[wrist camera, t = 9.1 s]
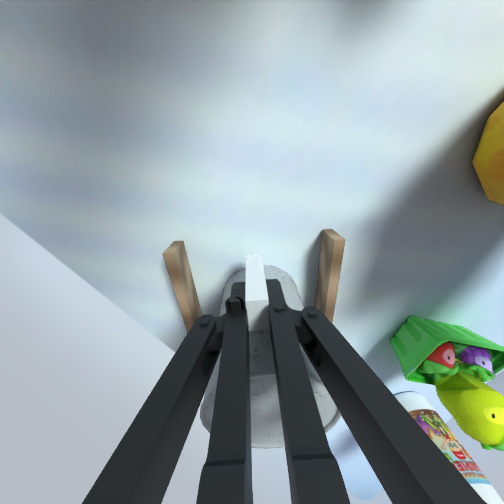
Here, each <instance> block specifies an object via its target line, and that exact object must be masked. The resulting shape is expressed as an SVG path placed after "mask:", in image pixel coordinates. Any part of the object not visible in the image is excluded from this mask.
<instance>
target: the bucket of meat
mask: <svg viewBox="0 0 504 504" xmlns="http://www.w3.org/2000/svg"><path fill="white" fill-rule="evenodd" d="M472 162H473V165H474V167H475V170H476V172H477V175H478V177H479V180H480V182H481V185H482V187H483V189H484V192H485V194H486V197H487V199H488V200H491V201H493V202H496V203H499V204H501V205H504V101H503V102H502V103H501V104H500V105H499V107H498V108H497V109H496V110H495V111H494V112H493V113H492V114H491V115H490V116H489V118H488V119H487V121H486V124H485V127H484V130H483V133H482V135H481V138H480V141H479V144H478V146H477V149H476V152H475V155H474V158H473V160H472Z"/></svg>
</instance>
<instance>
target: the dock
mask: <svg viewBox="0 0 504 504" xmlns="http://www.w3.org/2000/svg"><path fill="white" fill-rule="evenodd" d="M344 245H345V239H344V238H343V237H342V236H340V235H339V234H338V233H336V232H335V231H334V230H333V229H326V230H322V241H321V251H320V261H319V271H318V282H317V292H316V302H315V307H316V308H318V309H319V310H321V311H322V312H323V313H324V315H325V316H326V317H327V318H328V319H329V320H330V322H331V323H332V321H333V315H334V309H335V302H336V296H337V290H338V283H339V277H340V271H341V264H342V258H343V252H344ZM162 254H163V257H164V260H165V263H166V266H167V270H168V273H169V276H170V279H171V282H172V285H173V288H174V292H175V295H176V298H177V301H178V304H179V307H180V310H181V314H182V317H183V320H184V323H185V326H186V329H187V332H189V330H190V329H191V327H192V326H193V324H194V322H195V321H196V320H197V319H198V318H199V317H201V316H202V312H201V308H200V305H199V301H198V297H197V293H196V289H195V285H194V281H193V277H192V273H191V269H190V265H189V261H188V258H187V254H186V250H185V246H184V242H183V241H174V242H173V243H172V244H171V245H170V246H169V247H168V248H167V249H166V250H165V251H164V252H163V253H162Z"/></svg>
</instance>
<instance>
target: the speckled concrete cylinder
mask: <svg viewBox="0 0 504 504" xmlns="http://www.w3.org/2000/svg"><path fill="white" fill-rule="evenodd" d="M263 267H264V274H265V280H266V279H278V280H279V281H280V283H281V287H282V291H283V294H284V298H285V301H286V304H287V305H288V307H290V308H292V309H294V310H298V311H302V310H303V308H304V306H303V303H302V301H301V298H300V296H299V293H298V290H297V286H296V284H295V282H294V280H293V279H292V278H291V277H290V276H289V275H288V274H287V273H286V272H284V271H283V270H281V269H279V268H276V267H273V266H268V265H263ZM245 281H246V268H244V269H242V270H240V271H238V272H236V273H235V274H234V275H233V276H231V277H230V279H229V280H228V281H227V283H226V284H225V287H224V289H223V296H222V303H221V309H220V314H219V316H222V315H223V314H225V313H226V307H225V301H226V299H227V298H229V297H230V295H231V287H232V285H233V284H234V282H245ZM299 344H300V343H299ZM249 345H250V402H251V448H280V447H285V443H284V436H283V428H282V420H281V413H280V405H279V398H278V390H277V383H276V375H275V367H274V360H273V352H272V345H271V338H270V330H261V331H249ZM300 347H301V351H302V354H303V358H304V361H305V365H306V368H307V372H308V375H309V379H310V382H311V386H312V389H313V392H314V396H315V399H316V403H317V406H318V410H319V413H320V417H321V420H322V424H323V427H324V431H325V433H326V432H327V431H329V430H330V429H331V428H332V427H333V426H334V425H336V423H337V422H338V420H339V419H340V418H341V414H340V412H339V410H338V408H337V407H336V405H335V403H334V401H333V400H332V398H331V396H330V395H329V393H328V391H327V389H326V388H325V386H324V384H323V382H322V381H321V379H320V377H319V376H318V374H317V372H316V370H315V369H314V367H313V365H312V363H311V362H310V360H309V358H308V357H307V355H306V353H305V351H304V350H303V348H302V346H301V344H300ZM220 357H221V352H220V355H219V357H218V360H217V362H216V365H215V367H214V370H213V372H212V375H211V377H210V380H209V383H208V385H207V388H206V390H205V395H204V400H203V403H202V405H201V410H200V419H201V421H202V424H203V426H204V427H205V428H206V429H207V431H208V432H209V433H210V432H211V425H212V417H213V410H214V402H215V395H216V387H217V380H218V372H219V365H220Z"/></svg>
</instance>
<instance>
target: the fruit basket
mask: <svg viewBox="0 0 504 504" xmlns="http://www.w3.org/2000/svg"><path fill="white" fill-rule="evenodd" d="M390 342H391V344H392V346H393V349H394V351H395V353H396V355H397V357H398V360H399V362H400V364H401V366H402V368H403V369H402V370H403V373H404V376H405V378H406V380H408V381H413V382H420V383H426V384H432V385H435V386H436V392H437V395H438V397H439V399H440V401H441V402H442V404H443V405H444V406H445V408H446V409H447V410H448V411H449V412H450V413H451V414H452V416H453V417H454V419H455V420H456V422H457V423H458V425H459V427H460V428H461V429H462V430H463V431H464V432H465V433H466V434H467V435H469V436H470V437H472V438H473V439H475V440H477V441H479V442H480V443H481V446H482V447H483V448H484V449H487V450H492V448H495V449H497V450H500V451H504V397H503V396H502V395H501V394H500V393H498V392H497V391H495V390H494V389H492V388H491V387H489V386H488V385H486V384H485V383H483V382H486V381H489V380H490V379H494V377H495V374H496V373H498V372H499V371H501V370H502V369H503V368H504V347H503V346H499V345H497V344H496V343H494V342H492V341H490V340H488V339H486V338H484V337H482V336H480V335H478V334H476V333H474V332H472V331H470V330H468V329H466V328H464V327H462V326H457V325H450V324H447V323H442V322H435V321H432V320H427V319H420V318H417V317H413V316H410V317H409V318H408V319H407V322H405V323H404V324H403V325H402V326H401V327H400V329H399V330H398V331H397V332H396V334H395V336H394V337H393V338H391V339H390Z"/></svg>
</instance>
